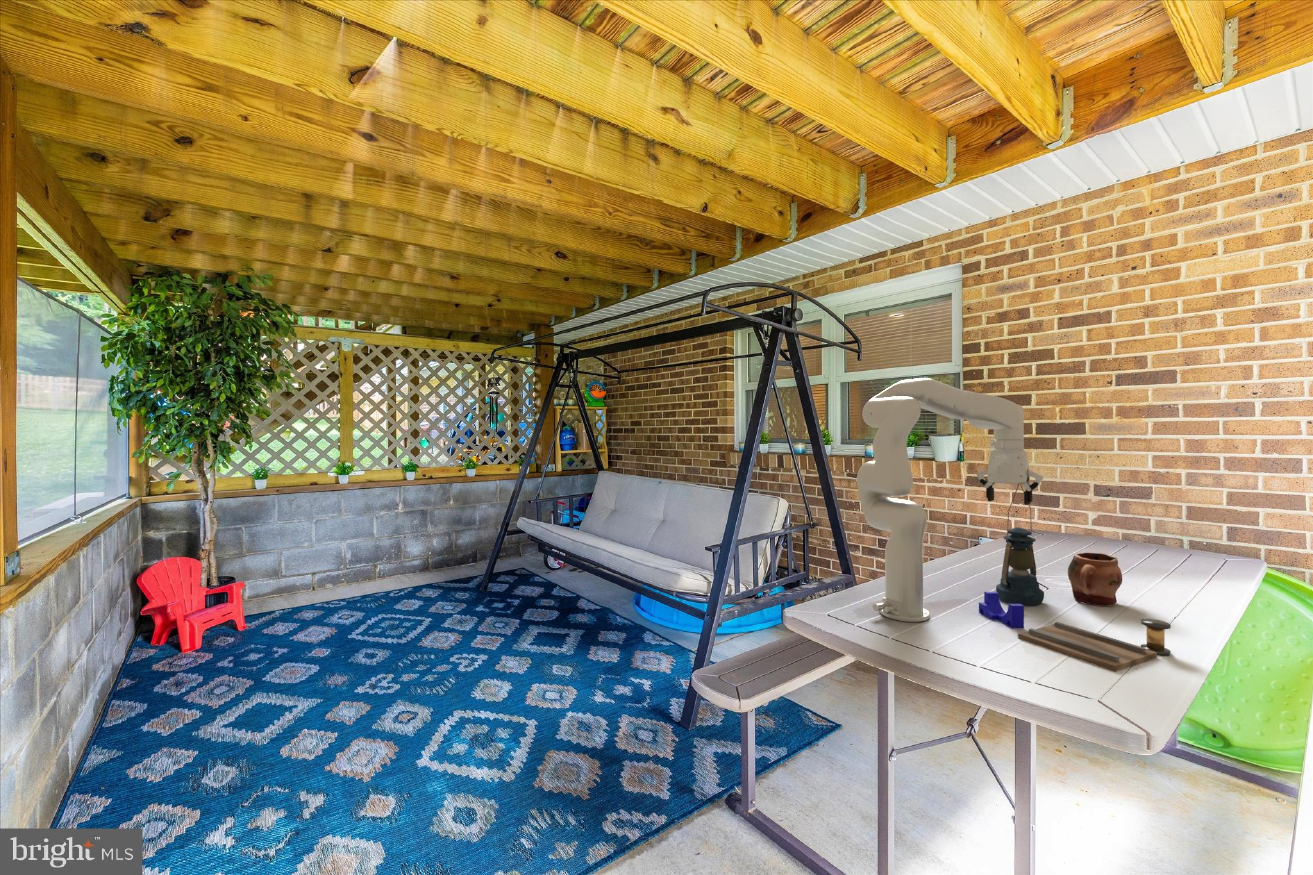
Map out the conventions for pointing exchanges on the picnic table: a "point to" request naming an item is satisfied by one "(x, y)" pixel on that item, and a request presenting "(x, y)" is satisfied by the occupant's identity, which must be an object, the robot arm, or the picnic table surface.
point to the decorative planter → (1095, 578)
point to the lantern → (1019, 569)
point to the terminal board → (1088, 646)
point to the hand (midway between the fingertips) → (1008, 502)
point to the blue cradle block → (1002, 611)
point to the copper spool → (1156, 636)
